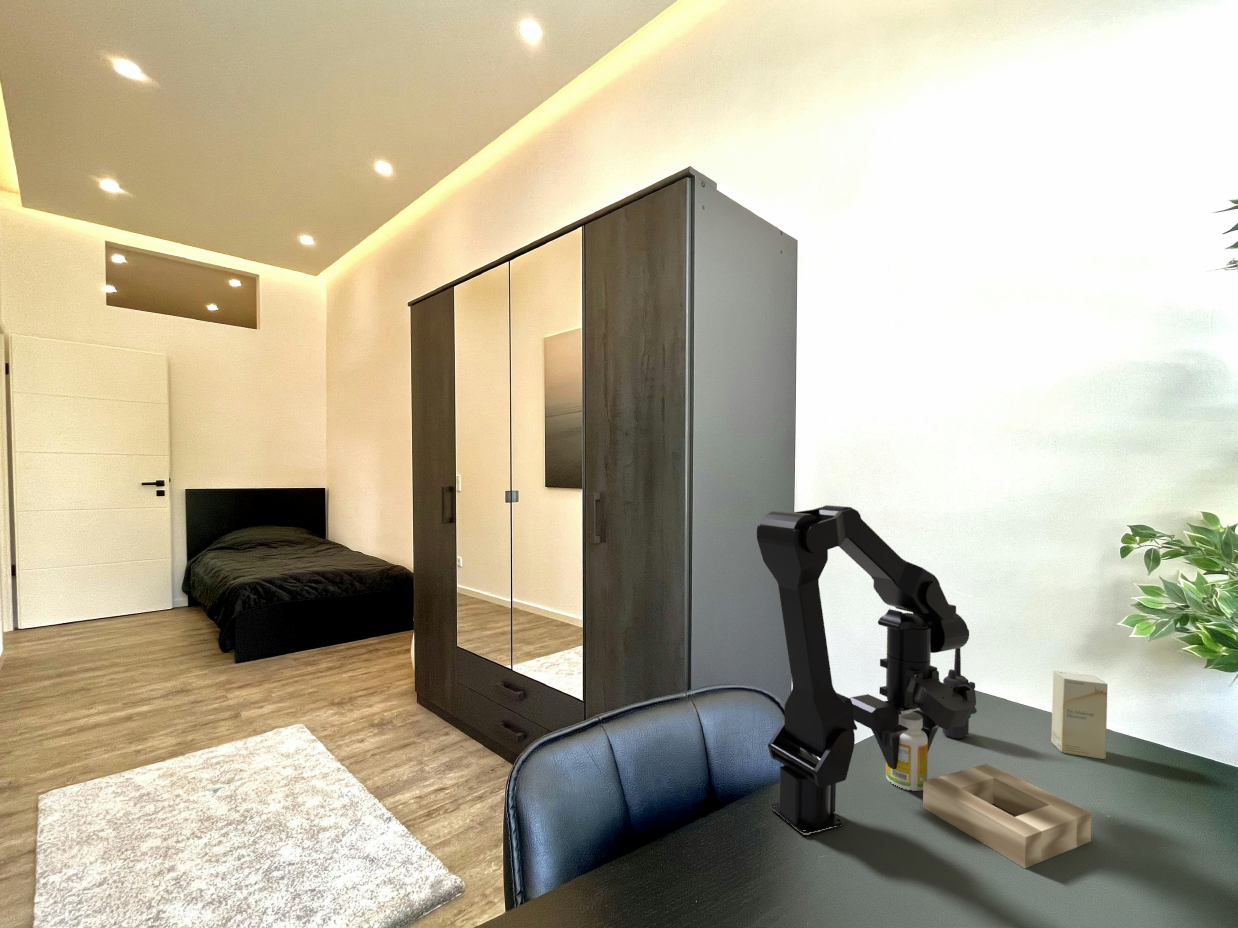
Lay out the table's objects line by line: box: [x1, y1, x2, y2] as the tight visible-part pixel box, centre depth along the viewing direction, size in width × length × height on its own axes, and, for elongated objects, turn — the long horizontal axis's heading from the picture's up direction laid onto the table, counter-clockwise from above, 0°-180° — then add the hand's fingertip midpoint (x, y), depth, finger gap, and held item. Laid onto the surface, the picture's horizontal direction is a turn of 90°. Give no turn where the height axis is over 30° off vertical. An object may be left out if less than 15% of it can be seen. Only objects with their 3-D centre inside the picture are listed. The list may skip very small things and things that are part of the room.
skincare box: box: [1050, 670, 1108, 760], centre depth 96 cm, size 6×4×12 cm
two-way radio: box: [942, 648, 976, 740], centre depth 100 cm, size 6×4×15 cm
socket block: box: [922, 763, 1092, 869], centre depth 74 cm, size 13×13×4 cm
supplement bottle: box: [885, 711, 929, 792], centre depth 84 cm, size 5×5×10 cm
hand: (906, 764), depth 84 cm, fingers closed on supplement bottle, 5 cm apart
